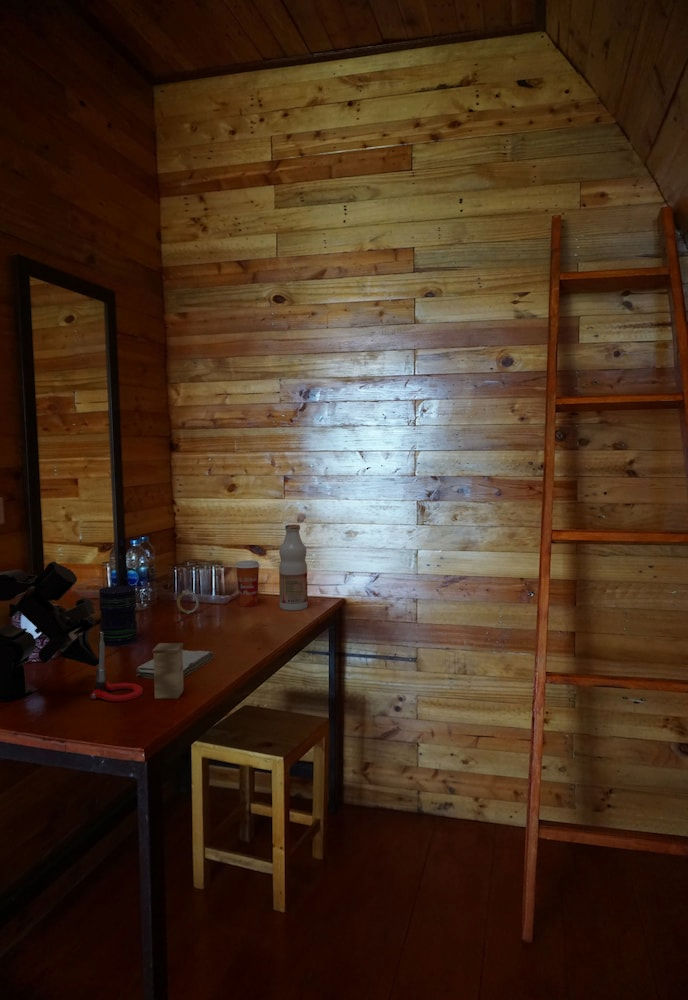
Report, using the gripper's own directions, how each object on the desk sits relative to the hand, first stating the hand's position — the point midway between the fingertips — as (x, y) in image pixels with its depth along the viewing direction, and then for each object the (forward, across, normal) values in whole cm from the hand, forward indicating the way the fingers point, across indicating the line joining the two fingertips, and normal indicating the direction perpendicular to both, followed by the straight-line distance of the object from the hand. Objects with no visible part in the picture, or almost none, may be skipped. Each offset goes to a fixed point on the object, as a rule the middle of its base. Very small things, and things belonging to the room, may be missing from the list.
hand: (97, 664), depth 149 cm
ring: (+7, +74, +3) cm, 74 cm away
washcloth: (+14, +19, -3) cm, 23 cm away
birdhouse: (+16, +2, -6) cm, 17 cm away
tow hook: (+8, 0, +2) cm, 8 cm away
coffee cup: (+20, +85, -9) cm, 88 cm away
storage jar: (-2, +42, +12) cm, 43 cm away
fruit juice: (+31, +81, -20) cm, 89 cm away
